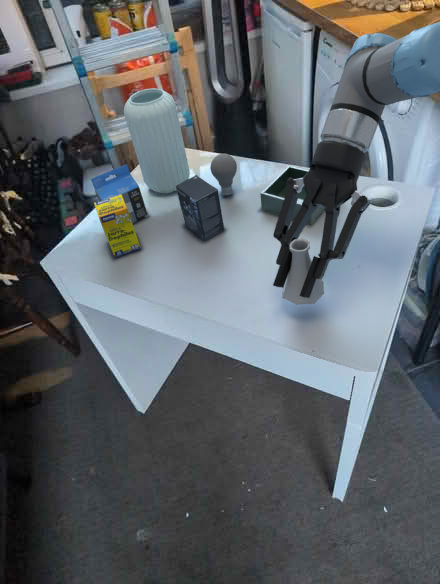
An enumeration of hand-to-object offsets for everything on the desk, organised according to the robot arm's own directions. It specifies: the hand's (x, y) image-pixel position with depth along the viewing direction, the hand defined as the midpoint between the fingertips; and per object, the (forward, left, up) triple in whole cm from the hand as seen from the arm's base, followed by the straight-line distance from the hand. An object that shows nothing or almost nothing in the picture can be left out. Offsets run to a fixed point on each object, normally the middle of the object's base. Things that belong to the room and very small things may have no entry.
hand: (291, 291), depth 69 cm
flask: (0, -4, -4) cm, 5 cm away
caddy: (+15, -30, -7) cm, 35 cm away
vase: (+48, -23, -7) cm, 54 cm away
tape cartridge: (+47, -7, -7) cm, 48 cm away
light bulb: (+32, -26, -7) cm, 42 cm away
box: (+29, -13, -7) cm, 33 cm away
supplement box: (+41, 0, -7) cm, 42 cm away
